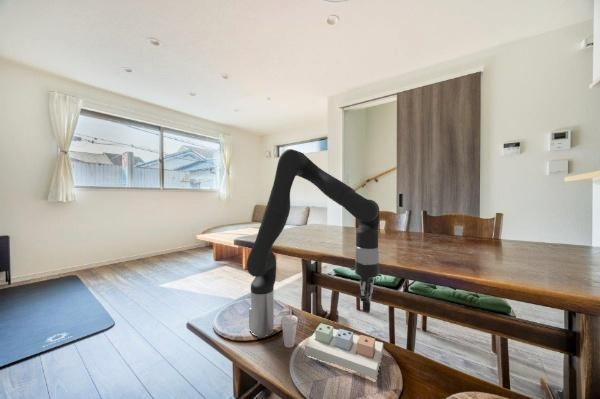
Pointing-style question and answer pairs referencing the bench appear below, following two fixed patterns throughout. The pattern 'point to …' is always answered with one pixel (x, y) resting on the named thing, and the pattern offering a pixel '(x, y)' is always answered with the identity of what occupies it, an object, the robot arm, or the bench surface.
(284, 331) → the smoothie
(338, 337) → the tile three
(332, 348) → the board
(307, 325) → the bench surface
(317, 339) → the tile two
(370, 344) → the tile one
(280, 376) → the bench surface
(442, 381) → the bench surface
